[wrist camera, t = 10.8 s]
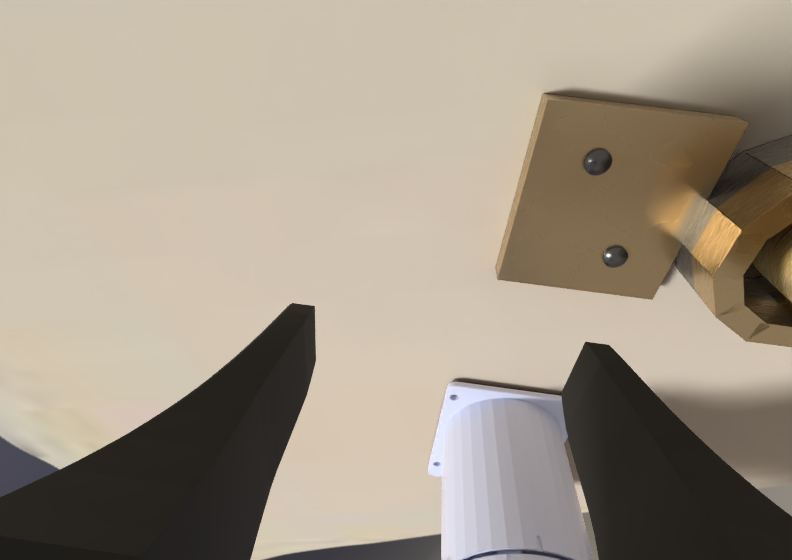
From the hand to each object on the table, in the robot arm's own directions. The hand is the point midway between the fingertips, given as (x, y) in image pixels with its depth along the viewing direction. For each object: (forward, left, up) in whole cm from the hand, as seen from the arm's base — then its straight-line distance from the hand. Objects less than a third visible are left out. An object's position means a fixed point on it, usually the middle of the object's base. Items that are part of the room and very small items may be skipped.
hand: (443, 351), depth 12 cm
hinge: (+1, -14, -9) cm, 17 cm away
